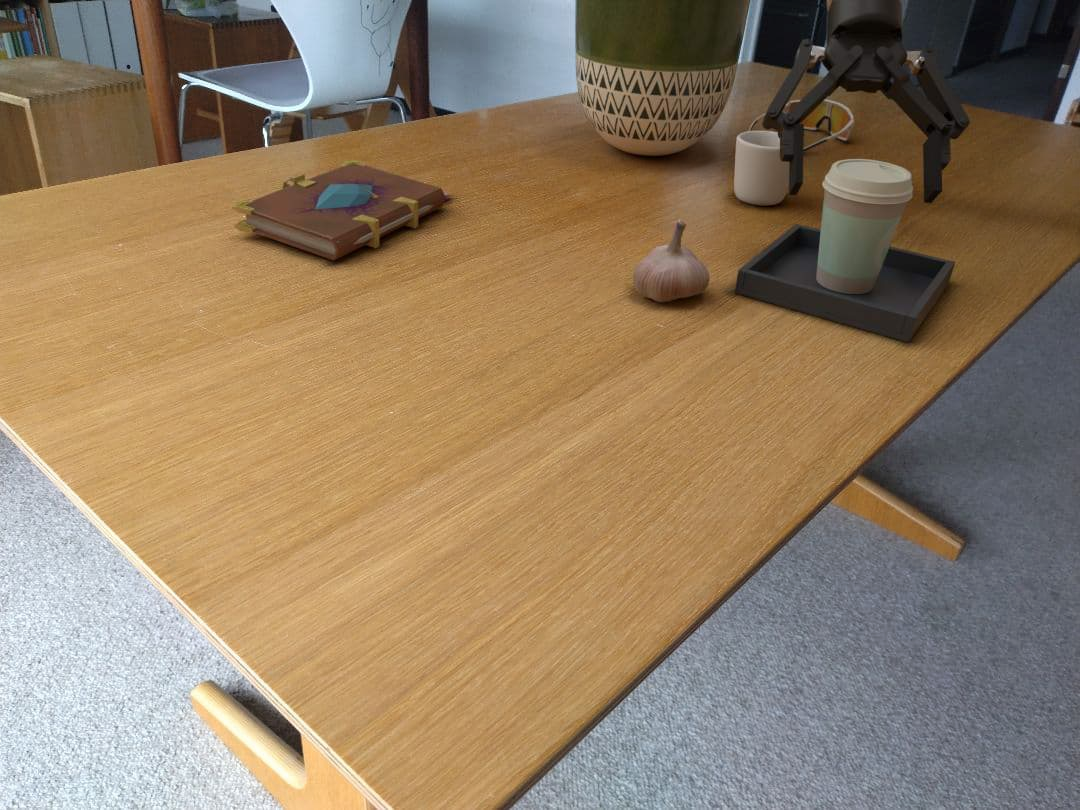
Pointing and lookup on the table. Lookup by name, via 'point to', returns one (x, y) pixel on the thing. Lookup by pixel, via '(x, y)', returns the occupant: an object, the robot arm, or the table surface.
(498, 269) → the table surface
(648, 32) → the planter
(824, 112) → the sunglasses
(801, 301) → the slate tray
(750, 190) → the cup
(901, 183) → the coffee cup
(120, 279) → the table surface
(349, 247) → the book
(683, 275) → the garlic bulb
